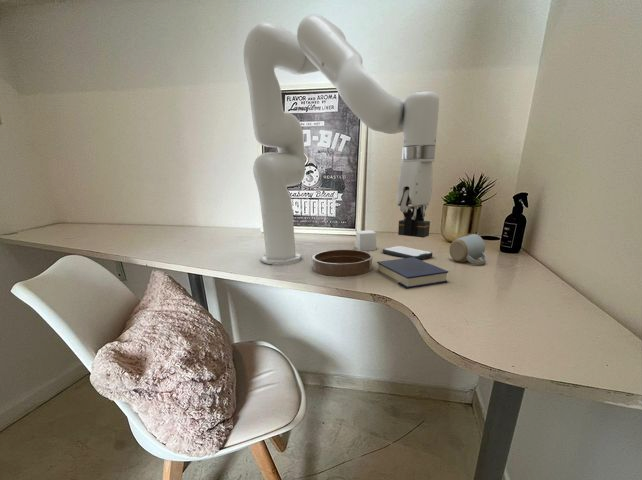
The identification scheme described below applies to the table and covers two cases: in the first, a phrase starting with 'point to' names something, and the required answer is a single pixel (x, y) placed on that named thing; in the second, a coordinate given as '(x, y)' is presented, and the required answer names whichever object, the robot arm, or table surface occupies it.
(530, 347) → the table surface
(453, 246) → the ceramic mug
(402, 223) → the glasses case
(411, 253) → the phone case
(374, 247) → the white cube
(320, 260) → the bowl
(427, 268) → the book
